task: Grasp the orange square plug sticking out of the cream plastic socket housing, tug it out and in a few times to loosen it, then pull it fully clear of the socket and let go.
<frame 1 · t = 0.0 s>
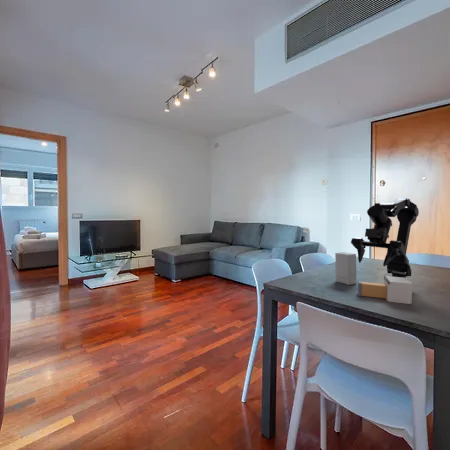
hand: (371, 264, 107), 15 cm above the table, tool tilted 35°, fingers open, 9 cm apart
skincare box: (345, 282, 135), on the table
housing: (396, 298, 110), on the table
plug: (379, 290, 113), point 3 cm above the table, slide at 0.0 cm
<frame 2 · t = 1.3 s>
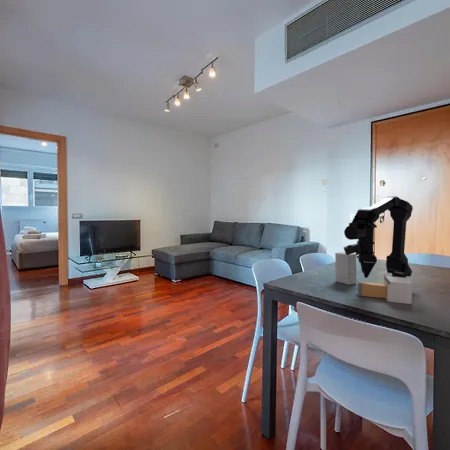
hand: (364, 275, 114), 9 cm above the table, tool pointing down, fingers open, 9 cm apart
nothing on the table moved.
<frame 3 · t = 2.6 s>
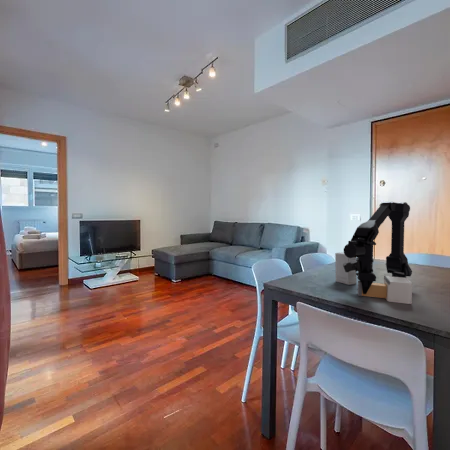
hand: (363, 292, 115), 1 cm above the table, tool pointing down, fingers closed on plug, 4 cm apart
plug: (379, 290, 113), point 3 cm above the table, slide at 0.0 cm, touching gripper
everything else where it was.
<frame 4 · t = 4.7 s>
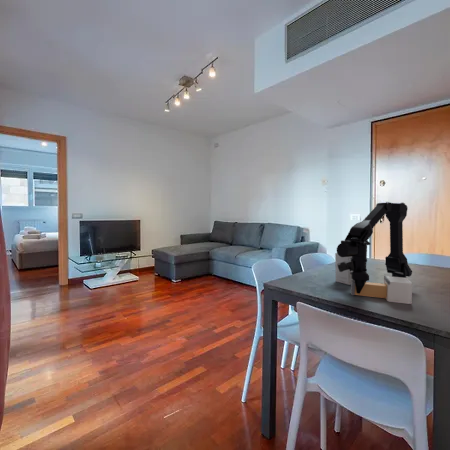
hand: (357, 291, 116), 1 cm above the table, tool pointing down, fingers closed on plug, 4 cm apart
plug: (372, 289, 114), point 3 cm above the table, slide at 2.7 cm, touching gripper
everything else where it was.
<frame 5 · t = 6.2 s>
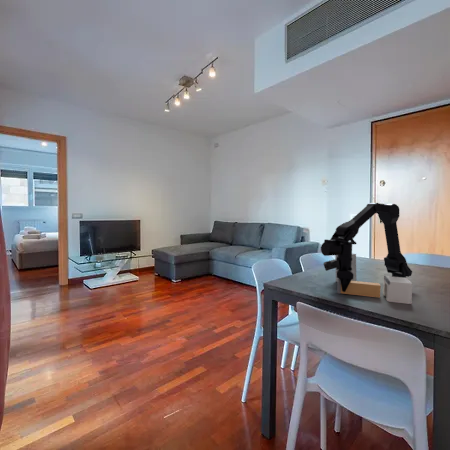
hand: (343, 290, 118), 1 cm above the table, tool pointing down, fingers closed on plug, 4 cm apart
plug: (358, 288, 116), point 3 cm above the table, slide at 8.2 cm, touching gripper
everything else where it was.
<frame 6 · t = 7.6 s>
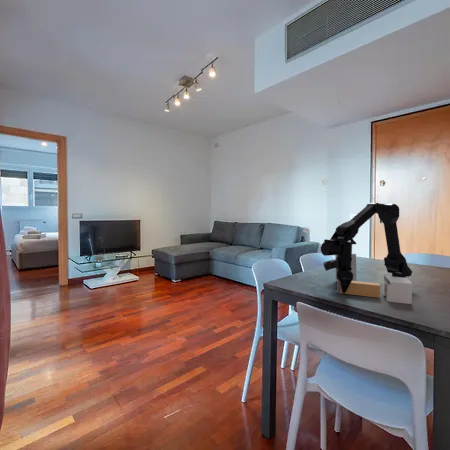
hand: (343, 290, 118), 1 cm above the table, tool pointing down, fingers open, 9 cm apart
plug: (357, 288, 116), point 3 cm above the table, slide at 8.2 cm
everything else where it was.
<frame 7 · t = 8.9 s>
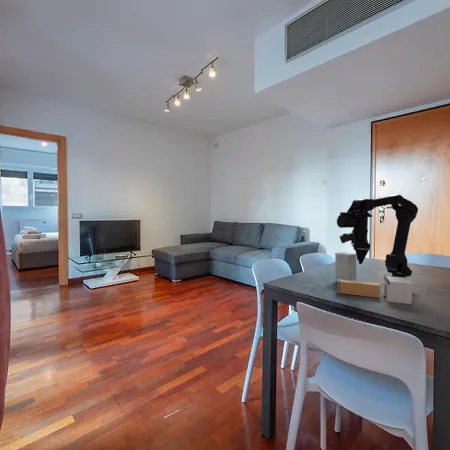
hand: (359, 262, 121), 13 cm above the table, tool pointing down, fingers open, 9 cm apart
nothing on the table moved.
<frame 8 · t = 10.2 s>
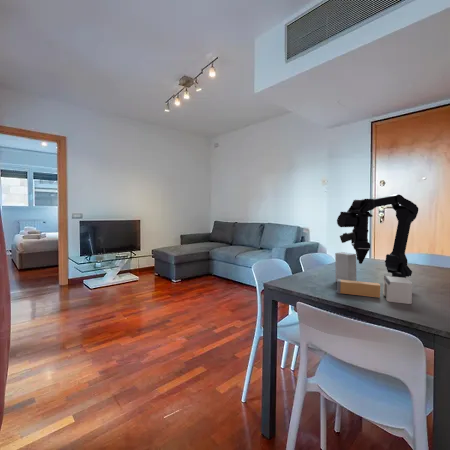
hand: (359, 261, 121), 13 cm above the table, tool pointing down, fingers open, 9 cm apart
nothing on the table moved.
at the end: plug slide at 8.2 cm; the gripper is holding nothing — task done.
